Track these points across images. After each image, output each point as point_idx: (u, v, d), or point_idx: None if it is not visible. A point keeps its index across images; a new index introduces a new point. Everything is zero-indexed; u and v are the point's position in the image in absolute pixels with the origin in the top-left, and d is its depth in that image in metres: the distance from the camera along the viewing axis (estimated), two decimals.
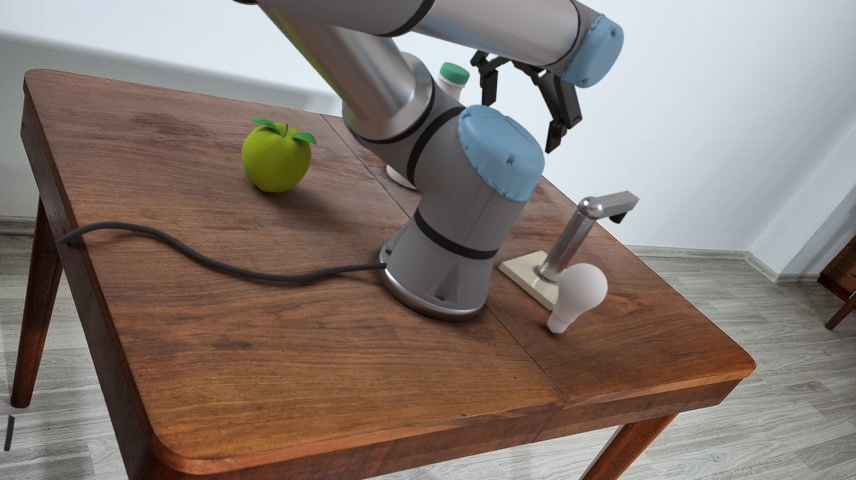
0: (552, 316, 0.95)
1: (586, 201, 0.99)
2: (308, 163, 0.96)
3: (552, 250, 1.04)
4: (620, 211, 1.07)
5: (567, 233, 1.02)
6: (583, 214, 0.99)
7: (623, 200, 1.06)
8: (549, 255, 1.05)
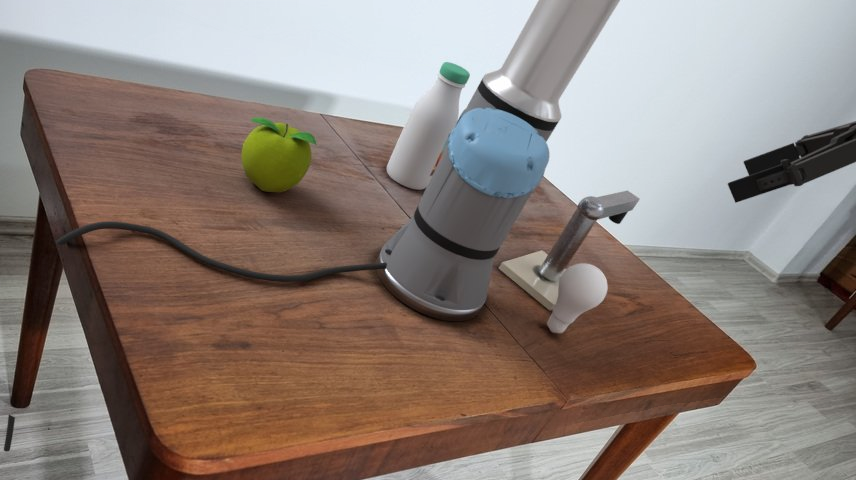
0: (552, 316, 0.95)
1: (586, 201, 0.99)
2: (308, 163, 0.96)
3: (552, 250, 1.04)
4: (620, 211, 1.07)
5: (567, 233, 1.02)
6: (583, 214, 0.99)
7: (623, 200, 1.06)
8: (549, 255, 1.05)
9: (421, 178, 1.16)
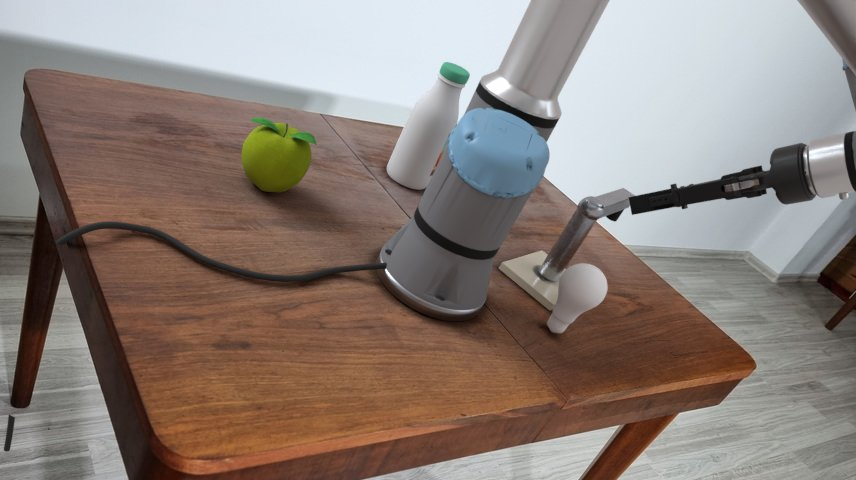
0: (552, 316, 0.95)
1: (586, 201, 0.99)
2: (308, 163, 0.96)
3: (552, 250, 1.04)
4: (618, 209, 1.07)
5: (567, 233, 1.02)
6: (584, 214, 0.99)
7: (620, 198, 1.06)
8: (550, 256, 1.05)
9: (421, 178, 1.16)
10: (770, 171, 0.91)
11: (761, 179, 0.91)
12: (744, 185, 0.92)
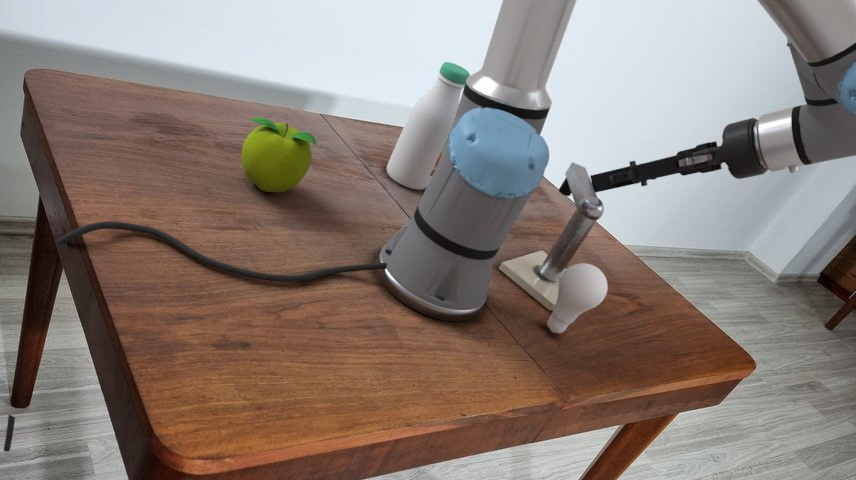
0: (552, 316, 0.95)
1: (591, 205, 0.99)
2: (308, 163, 0.96)
3: (556, 254, 1.04)
4: None
5: (573, 237, 1.01)
6: (590, 218, 0.99)
7: (587, 180, 1.07)
8: (554, 260, 1.04)
9: (421, 178, 1.16)
10: (722, 146, 0.93)
11: (714, 154, 0.93)
12: (697, 160, 0.94)
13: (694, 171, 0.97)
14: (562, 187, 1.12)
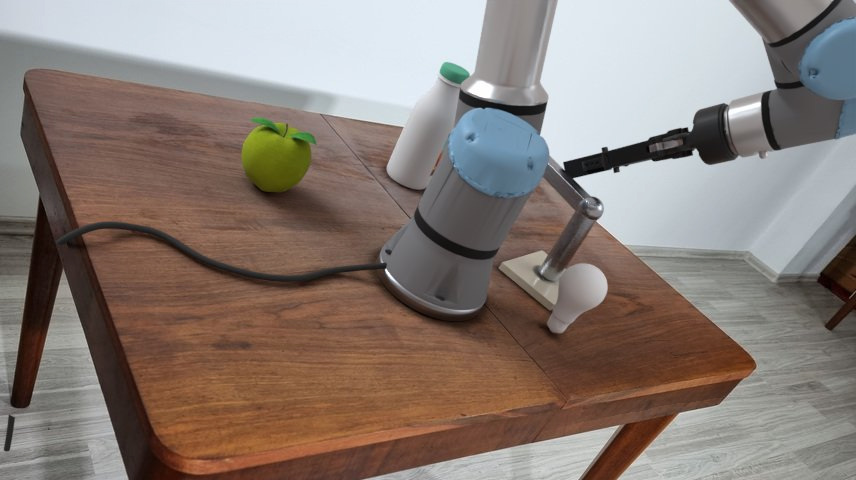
0: (552, 316, 0.95)
1: (596, 207, 0.99)
2: (308, 163, 0.96)
3: (560, 257, 1.03)
4: None
5: (578, 239, 1.01)
6: (595, 219, 1.00)
7: (564, 171, 1.06)
8: (558, 262, 1.04)
9: (421, 178, 1.16)
10: (692, 131, 0.92)
11: (684, 139, 0.92)
12: (667, 145, 0.93)
13: (665, 157, 0.96)
14: None
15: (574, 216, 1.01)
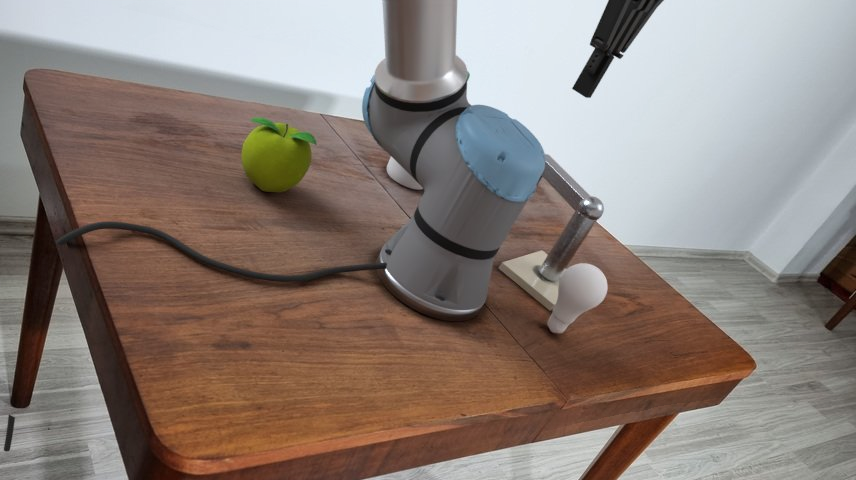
0: (552, 316, 0.95)
1: (596, 207, 0.99)
2: (308, 163, 0.96)
3: (560, 257, 1.03)
4: None
5: (578, 239, 1.01)
6: (595, 219, 1.00)
7: (564, 171, 1.06)
8: (558, 262, 1.04)
9: None
10: None
11: None
12: None
13: None
14: None
15: (574, 216, 1.01)
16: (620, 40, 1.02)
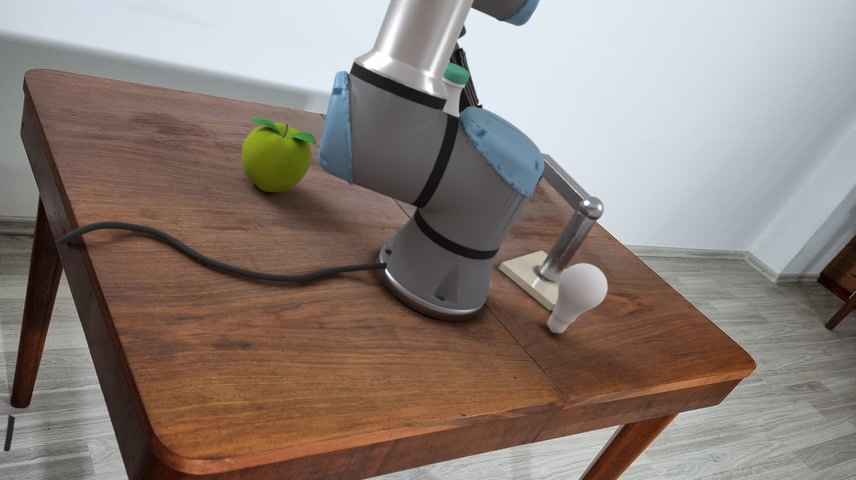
0: (552, 316, 0.95)
1: (596, 207, 0.99)
2: (308, 163, 0.96)
3: (560, 257, 1.03)
4: None
5: (578, 239, 1.01)
6: (595, 219, 1.00)
7: (564, 171, 1.06)
8: (558, 262, 1.04)
9: None
10: None
11: None
12: None
13: (461, 65, 1.21)
14: None
15: (574, 216, 1.01)
16: (472, 99, 1.26)
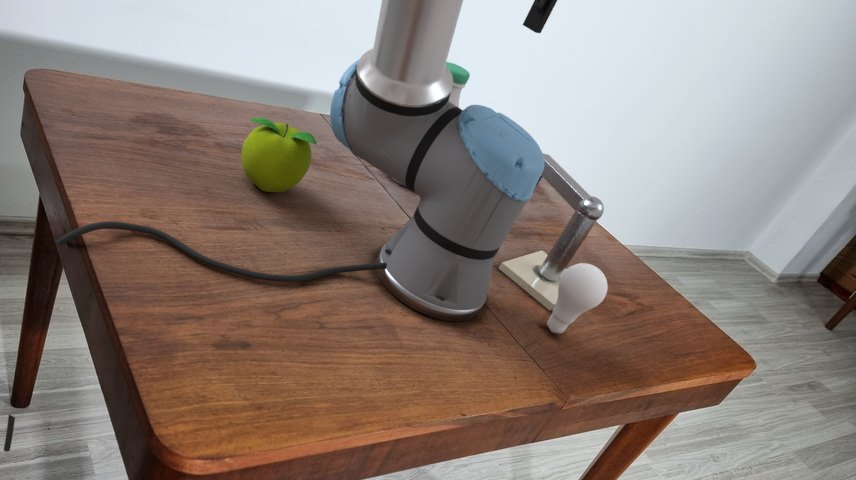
0: (552, 316, 0.95)
1: (596, 207, 0.99)
2: (308, 163, 0.96)
3: (560, 257, 1.03)
4: None
5: (578, 239, 1.01)
6: (595, 219, 1.00)
7: (564, 171, 1.06)
8: (558, 262, 1.04)
9: None
10: None
11: None
12: None
13: None
14: None
15: (574, 216, 1.01)
16: None
